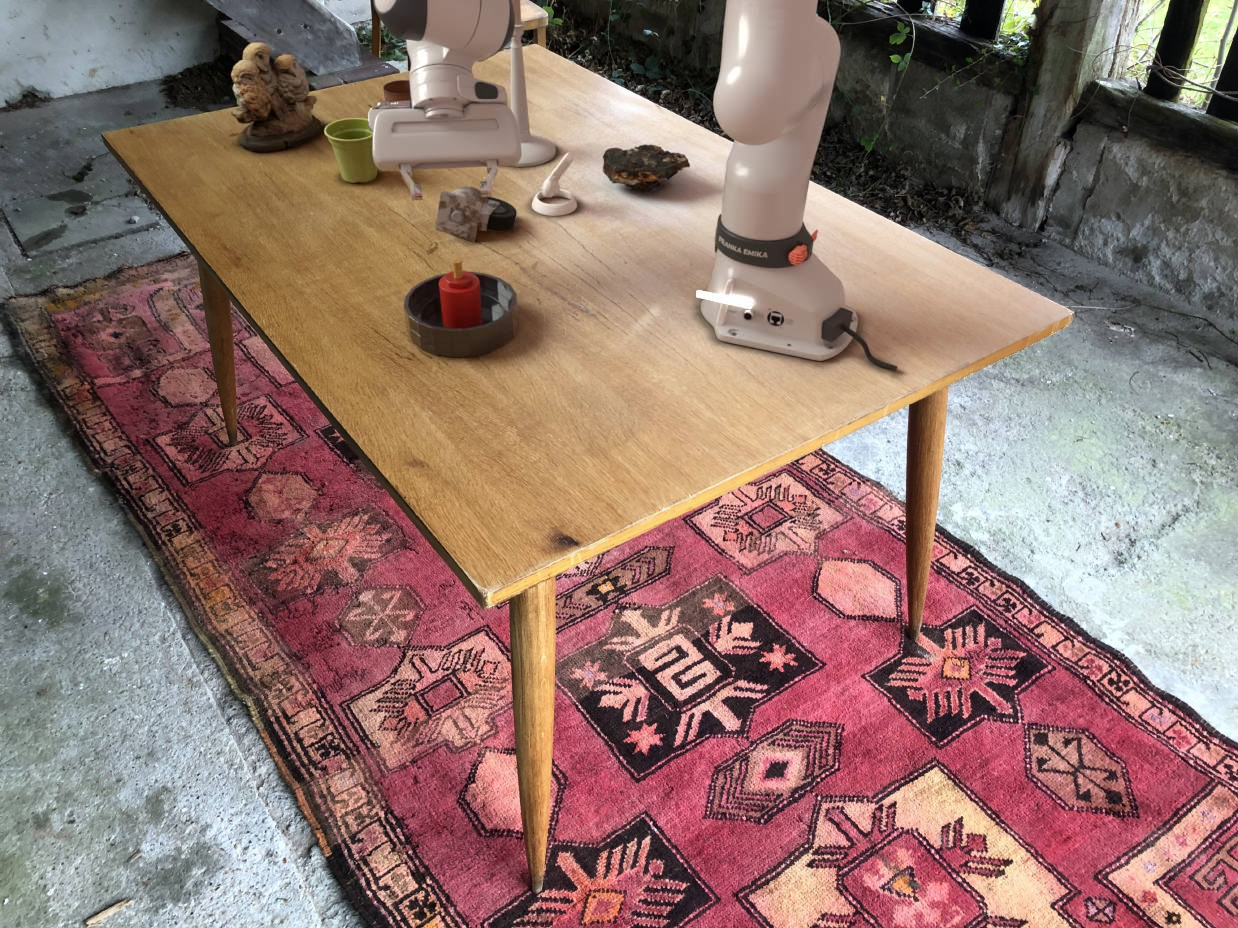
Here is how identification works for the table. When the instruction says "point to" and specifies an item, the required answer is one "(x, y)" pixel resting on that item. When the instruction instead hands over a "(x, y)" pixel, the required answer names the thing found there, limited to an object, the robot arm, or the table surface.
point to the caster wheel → (472, 213)
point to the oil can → (460, 298)
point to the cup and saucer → (397, 91)
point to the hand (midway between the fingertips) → (451, 197)
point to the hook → (555, 192)
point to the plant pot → (353, 149)
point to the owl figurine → (272, 101)
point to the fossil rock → (642, 166)
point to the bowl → (461, 342)
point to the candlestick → (525, 103)
